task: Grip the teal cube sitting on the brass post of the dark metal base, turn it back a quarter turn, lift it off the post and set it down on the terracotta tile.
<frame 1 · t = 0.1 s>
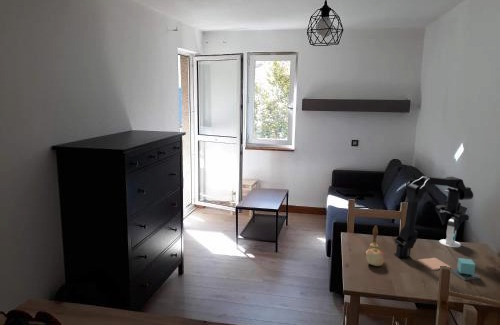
hand: (449, 227, 211), 15 cm above the table, fingers open, 9 cm apart
post base: (464, 274, 188), on the table
white stand: (449, 243, 227), on the table
teal cube: (465, 271, 187), point 2 cm above the table, touching post base
hand bell: (373, 254, 209), on the table
apple: (374, 265, 196), on the table
tile: (433, 264, 198), on the table
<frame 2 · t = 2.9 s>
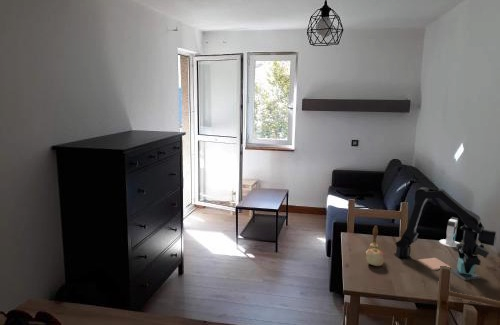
hand: (465, 270, 187), 3 cm above the table, fingers closed on teal cube, 6 cm apart
teal cube: (465, 271, 187), point 2 cm above the table, touching gripper, post base
everything else where it was.
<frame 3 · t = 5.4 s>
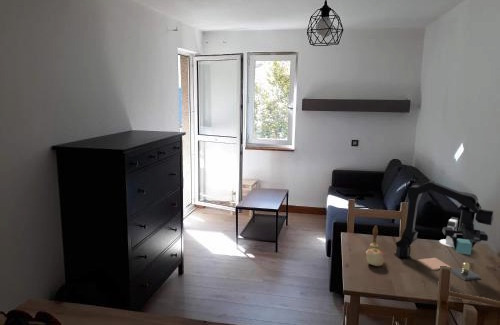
hand: (462, 250, 187), 12 cm above the table, fingers closed on teal cube, 6 cm apart
teal cube: (462, 251, 187), point 12 cm above the table, touching gripper
everything else where it was.
when the fingers open (3 cm above the table, at t = 8.4 s): teal cube drops 2 cm, resting on tile.
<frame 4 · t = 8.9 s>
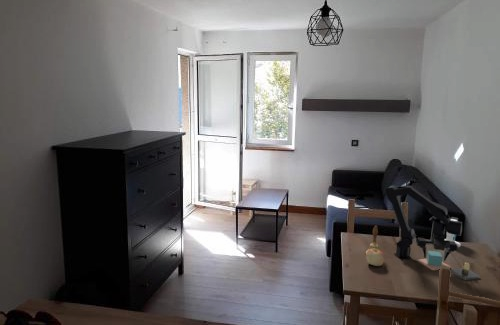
hand: (434, 259, 198), 3 cm above the table, fingers open, 9 cm apart
teal cube: (433, 263, 198), point 1 cm above the table, touching tile
everything else where it was.
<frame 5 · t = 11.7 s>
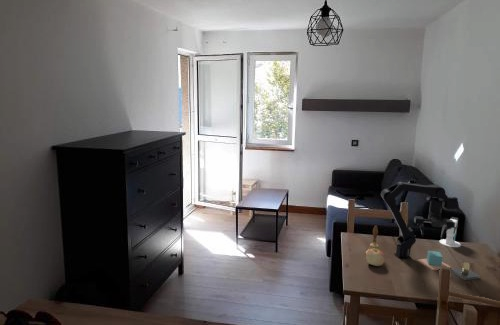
hand: (431, 237, 203), 12 cm above the table, fingers open, 9 cm apart
nothing on the table moved.
at the end: teal cube inside the target area on the tile (0.1 cm from its centre), point 0.8 cm above the tile's base; teal cube touching tile; teal cube tilted 0° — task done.
